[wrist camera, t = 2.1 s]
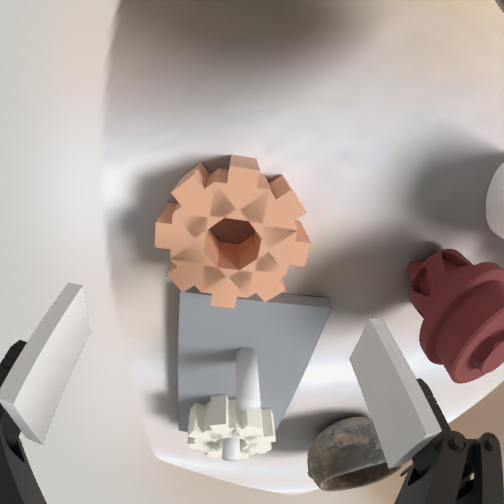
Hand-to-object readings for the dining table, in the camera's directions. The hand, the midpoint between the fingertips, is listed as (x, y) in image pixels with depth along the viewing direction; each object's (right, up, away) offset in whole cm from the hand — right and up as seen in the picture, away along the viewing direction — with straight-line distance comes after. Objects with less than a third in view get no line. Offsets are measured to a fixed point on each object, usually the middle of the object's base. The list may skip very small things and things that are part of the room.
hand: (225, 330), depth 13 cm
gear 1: (0, +6, +10) cm, 12 cm away
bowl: (+16, -23, +27) cm, 39 cm away
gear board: (0, -10, +19) cm, 22 cm away
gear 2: (-1, -17, +20) cm, 26 cm away
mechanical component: (+19, +1, +14) cm, 23 cm away
